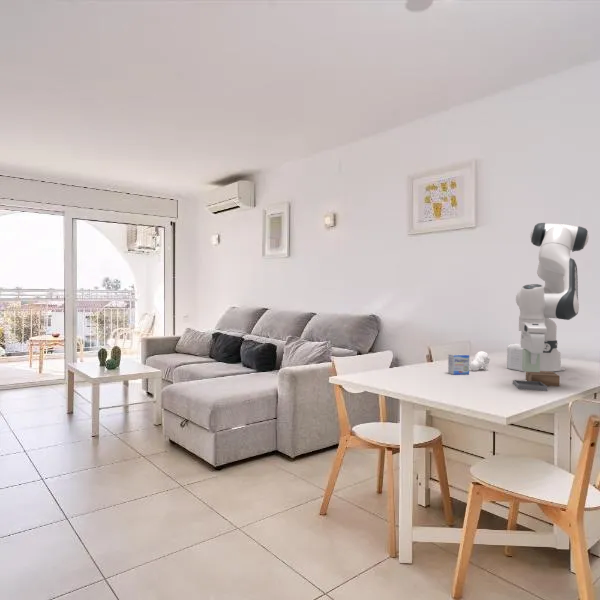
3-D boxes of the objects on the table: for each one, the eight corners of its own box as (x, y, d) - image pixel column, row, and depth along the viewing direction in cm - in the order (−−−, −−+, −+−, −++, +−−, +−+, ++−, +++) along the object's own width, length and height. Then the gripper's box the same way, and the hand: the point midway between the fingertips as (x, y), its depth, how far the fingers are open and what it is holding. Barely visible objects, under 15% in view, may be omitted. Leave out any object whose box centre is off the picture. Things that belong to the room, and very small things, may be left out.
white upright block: (530, 371, 211) (531, 344, 211) (524, 372, 209) (525, 345, 209) (511, 368, 220) (511, 342, 220) (505, 368, 218) (505, 342, 218)
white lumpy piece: (490, 351, 214) (477, 355, 206) (491, 369, 214) (478, 374, 207) (478, 349, 218) (464, 354, 211) (478, 367, 219) (465, 372, 211)
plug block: (522, 369, 177) (522, 349, 177) (536, 370, 176) (536, 349, 176) (525, 371, 173) (525, 350, 172) (539, 372, 171) (539, 351, 171)
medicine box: (453, 375, 199) (453, 355, 199) (447, 373, 203) (448, 353, 203) (469, 374, 201) (469, 355, 200) (463, 372, 205) (464, 353, 205)
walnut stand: (525, 379, 190) (525, 370, 190) (552, 381, 187) (552, 371, 187) (531, 384, 180) (531, 374, 180) (559, 386, 178) (559, 375, 177)
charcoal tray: (512, 383, 181) (512, 380, 181) (540, 385, 178) (540, 381, 178) (518, 389, 171) (518, 385, 171) (547, 390, 169) (547, 386, 169)
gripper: (516, 324, 185) (516, 358, 185) (528, 328, 165) (528, 366, 165) (533, 325, 183) (533, 359, 184) (548, 328, 164) (547, 367, 164)
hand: (530, 362), depth 174 cm, fingers closed on plug block, 5 cm apart
